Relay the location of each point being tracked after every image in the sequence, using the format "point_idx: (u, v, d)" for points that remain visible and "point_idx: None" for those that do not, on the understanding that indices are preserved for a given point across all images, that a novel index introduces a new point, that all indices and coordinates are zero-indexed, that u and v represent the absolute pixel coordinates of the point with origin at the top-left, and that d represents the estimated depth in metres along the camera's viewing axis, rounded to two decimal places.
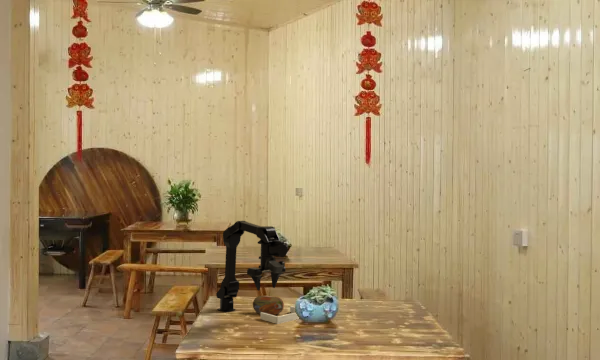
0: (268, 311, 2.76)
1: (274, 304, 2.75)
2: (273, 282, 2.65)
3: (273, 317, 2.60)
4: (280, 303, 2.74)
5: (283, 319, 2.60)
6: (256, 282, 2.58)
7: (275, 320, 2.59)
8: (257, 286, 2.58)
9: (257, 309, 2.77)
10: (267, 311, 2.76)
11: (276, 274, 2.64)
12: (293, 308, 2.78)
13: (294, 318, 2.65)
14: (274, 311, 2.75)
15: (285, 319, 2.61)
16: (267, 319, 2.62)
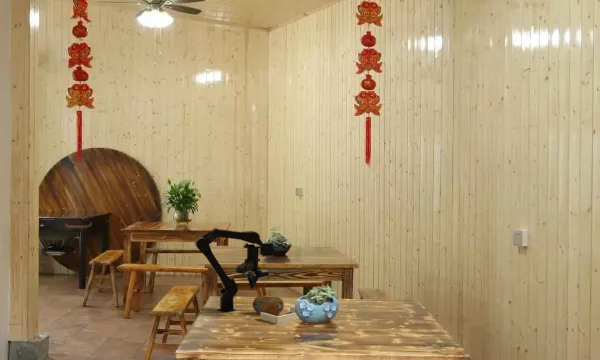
0: (268, 311, 2.76)
1: (274, 304, 2.75)
2: None
3: (273, 317, 2.60)
4: (280, 303, 2.74)
5: (283, 319, 2.60)
6: None
7: (275, 320, 2.59)
8: None
9: (257, 309, 2.77)
10: (267, 311, 2.76)
11: None
12: (293, 308, 2.78)
13: (294, 318, 2.65)
14: (274, 311, 2.75)
15: (285, 319, 2.61)
16: (267, 319, 2.62)
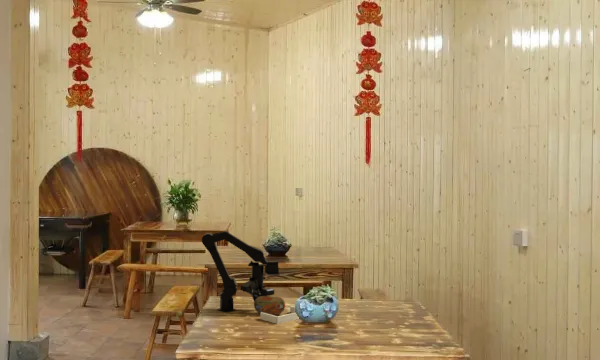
0: (270, 311, 2.75)
1: (275, 304, 2.74)
2: None
3: (273, 317, 2.60)
4: (281, 303, 2.74)
5: (283, 319, 2.60)
6: None
7: (275, 320, 2.59)
8: None
9: (258, 309, 2.77)
10: (268, 311, 2.75)
11: None
12: (293, 308, 2.78)
13: (294, 318, 2.65)
14: (275, 311, 2.74)
15: (285, 319, 2.61)
16: (267, 319, 2.62)
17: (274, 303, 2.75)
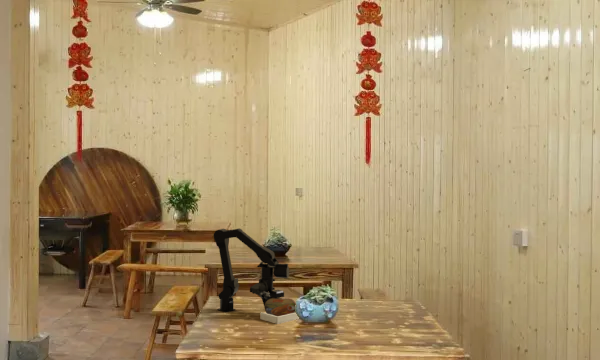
0: (281, 313, 2.72)
1: (287, 306, 2.71)
2: None
3: (273, 317, 2.60)
4: (293, 305, 2.71)
5: (283, 319, 2.60)
6: None
7: (275, 320, 2.59)
8: None
9: (269, 312, 2.72)
10: (280, 313, 2.72)
11: None
12: None
13: (294, 318, 2.65)
14: (287, 313, 2.71)
15: (285, 319, 2.61)
16: (267, 319, 2.62)
17: (285, 305, 2.71)
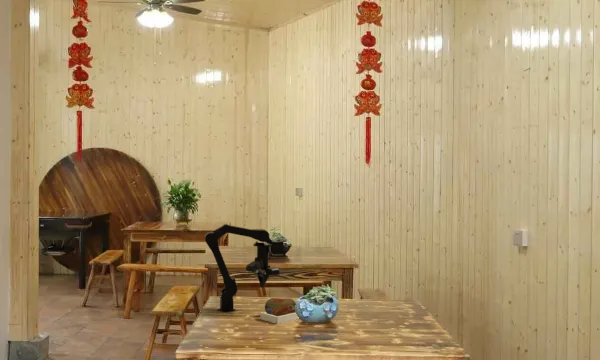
0: (281, 314, 2.72)
1: (287, 306, 2.71)
2: None
3: (273, 317, 2.60)
4: (294, 305, 2.71)
5: (283, 319, 2.60)
6: None
7: (275, 320, 2.59)
8: None
9: (269, 312, 2.72)
10: (280, 313, 2.72)
11: None
12: None
13: (294, 318, 2.65)
14: (287, 313, 2.71)
15: (285, 319, 2.61)
16: (267, 319, 2.62)
17: (286, 305, 2.72)
